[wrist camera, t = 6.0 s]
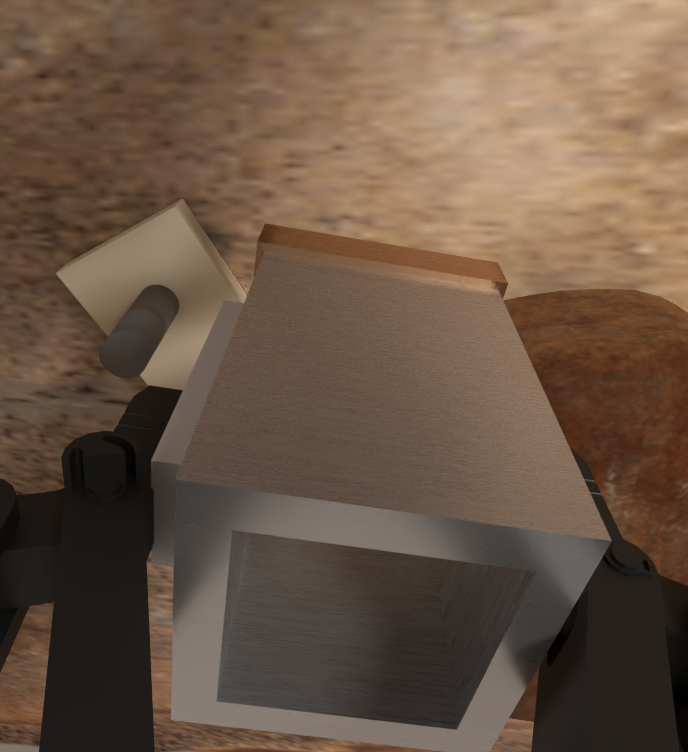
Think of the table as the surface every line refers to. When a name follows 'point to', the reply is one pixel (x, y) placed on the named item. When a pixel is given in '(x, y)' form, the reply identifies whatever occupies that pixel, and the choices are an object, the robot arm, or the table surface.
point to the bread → (618, 410)
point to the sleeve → (374, 505)
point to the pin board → (163, 264)
